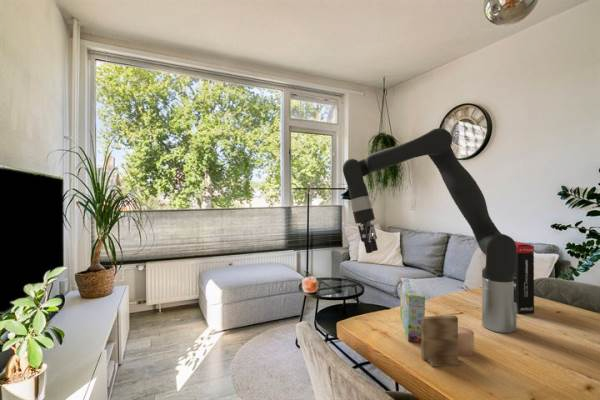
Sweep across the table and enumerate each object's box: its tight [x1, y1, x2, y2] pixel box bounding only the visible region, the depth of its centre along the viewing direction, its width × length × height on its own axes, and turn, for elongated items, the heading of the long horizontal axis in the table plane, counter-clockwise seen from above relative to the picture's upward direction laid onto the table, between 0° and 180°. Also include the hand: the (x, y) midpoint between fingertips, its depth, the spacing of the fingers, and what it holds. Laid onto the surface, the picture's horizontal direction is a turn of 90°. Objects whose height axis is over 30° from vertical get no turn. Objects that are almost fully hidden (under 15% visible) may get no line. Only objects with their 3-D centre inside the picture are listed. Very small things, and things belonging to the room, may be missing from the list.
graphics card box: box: [514, 240, 535, 315], centre depth 123 cm, size 17×7×27 cm, turn 179°
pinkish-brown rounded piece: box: [458, 326, 475, 357], centre depth 90 cm, size 6×6×6 cm
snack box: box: [399, 277, 426, 343], centre depth 106 cm, size 21×6×15 cm, turn 168°
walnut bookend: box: [420, 315, 462, 367], centre depth 85 cm, size 10×5×12 cm, turn 92°
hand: (372, 251), depth 112 cm, fingers open, 8 cm apart
